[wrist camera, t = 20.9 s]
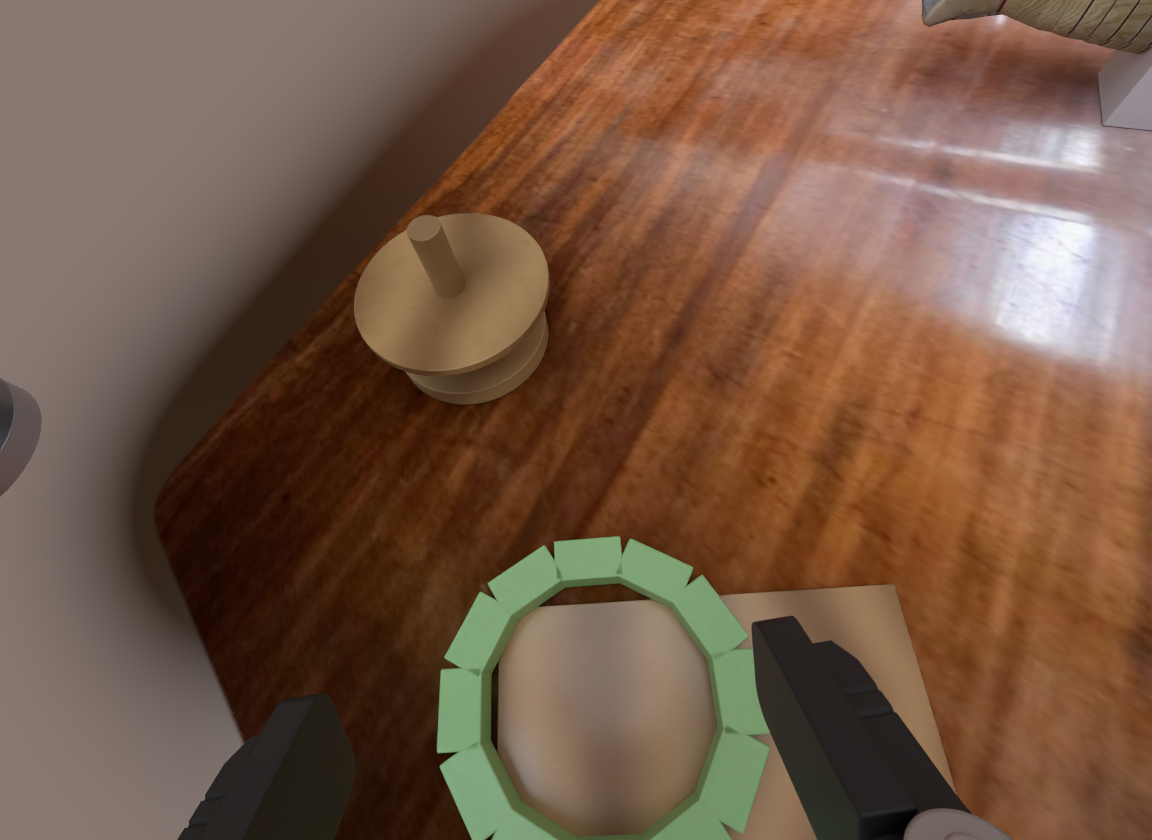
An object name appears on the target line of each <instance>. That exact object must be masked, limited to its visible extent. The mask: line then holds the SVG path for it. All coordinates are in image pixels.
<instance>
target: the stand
mask: <svg viewBox="0 0 1152 840" xmlns="http://www.w3.org/2000/svg"><path fill="white" fill-rule="evenodd" d="M549 292H550V277H549V270H548V265H547V262H546V259H545V256H544V254H543V252H542V250H541V248H540V246H539V245H538V244H537V242H536V241H535V239H534V238H533V237H532V236H531V235H530V234H529V233H527V232H526V231H525V230H523V229H522V228H521V227H519V226H518V225H516V224H514V223H512V222H510V221H507V220H505V219H502V218H499V217H495V216H491V215H486V214H478V213H462V214H452V215H446V216H441V217H437V218H436V217H435V216H431V215H423V216H420V217H417V218H415V219H414V220H412V221H411V222H410V224H409V225H408V227H407V230H406V231H404V232H402V233H400V234H399V235H397V236H396V237H395V238H393V239H392V240H391V241H389V242H388V243H387V244H386V245H385V246H384V247H382V248H381V249H380V250H379V252H378V253H377V254H376V255H375V256H374V257H373V258H372V260H371V261H370V262H369V264H368V265H367V267H366V268H365V270H364V272H363V274H362V275H361V278H360V280H359V283H358V285H357V289H356V293H355V299H354V314H355V320H356V324H357V327H358V329H359V332H360V334H361V336H362V337H363V339H364V340H365V342H366V343H367V345H368V346H369V347H370V348H371V350H372V351H373V352H374V353H375V354H376V355H377V356H378V357H380V358H381V359H382V360H384V361H385V362H386V363H388V364H390V365H392V366H394V367H395V368H397V369H400V370H403V371H405V372H406V373H407V375H408V376H409V377H410V379H411V380H412V382H413V383H414V384H415V385H416V386H417V387H418V388H419V389H420V390H421V391H423V392H424V393H425V394H427V395H429V396H431V397H433V398H435V399H437V400H440V401H443V402H447V403H452V404H462V405H464V404H477V403H483V402H487V401H491V400H494V399H497V398H499V397H502V396H504V395H506V394H507V393H509V392H511V391H513V390H514V389H516V388H517V387H519V386H520V385H521V384H522V383H523V382H525V381H526V380H527V379H528V378H529V377H530V376H531V375H532V373H533V372H534V371H535V370H536V368H537V367H538V365H539V364H540V362H541V360H542V358H543V356H544V353H545V350H546V347H547V342H548V323H547V319H546V315H545V311H544V310H545V307H546V305H547V302H548V297H549Z"/></svg>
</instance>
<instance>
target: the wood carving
mask: <svg viewBox="0 0 1152 840" xmlns="http://www.w3.org/2000/svg"><path fill="white" fill-rule="evenodd" d="M1001 14H1002V15H1006V16H1008V17H1010V18H1012V19H1014V20H1017V21H1019V22H1022V23H1024V24H1026V25H1028V26H1031V27H1033V28H1035V29H1038V30H1043V31H1048V32H1052V33H1055V34H1057V35H1060V36H1063V37H1066V38H1071V39H1079V40H1083V41H1085V42H1087V43H1092V44H1096V45H1100V46H1102V47H1107V48H1112V49H1116V51H1115V52H1114V53H1113V55H1112V56H1111V57H1110V59H1109V60H1108V61H1107V63H1106V64H1105V65H1104V67H1103V68H1102V69H1101V71H1100V72H1099V73H1098V81H1099V92H1100V102H1101V113H1102V123H1103V125H1105V126H1114V127H1124V128H1133V129H1143V130H1152V0H922V19H923V23H924V25H926V26H928V27H930V26H933V25H936V24H939V23H943V22H946V21H949V20H956V19H972V18H978V17H984V16H992V15H1001Z"/></svg>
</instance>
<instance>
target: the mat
mask: <svg viewBox="0 0 1152 840" xmlns="http://www.w3.org/2000/svg"><path fill="white" fill-rule="evenodd" d="M719 597H720V598H721V599H722V601H723V602H724V603H725V605H726V606H727V607H728V609H729V610H730V611H731V612H732V614H733V615H734V616H735V618H736V619H737V620H738V622H739V623H740V624H741V626H742V627H743V628H744V630H745V631H746V632H747V633H748V635H749V638H748V639H746V640H745V641H744V642H743V643H741V644H740V645H739V646H737V647H736V648H735V649H745V648H753V644H752V631H751V626H752V623H753V622H756V621H762V620H768V619H774V618H779V617H785V616H791V615H792V616H794V617H795V618H796V619H797V620H798V621H799V623H800V624H801V626H802V628H803V629H804V631H805V632H806V634H807V635H808V637H809V638H810V640H811V642H812V643H818V642H824V641H830V640H832V641H833V642H834V643H836V644H837V645H839V646H840V647H841V648H843V649H844V650H846V651H847V652H848V653H850V654H851V655H853V656H854V657H855V658H857V659H858V660H859V661H860V663H861V664H862V665H863V667H864V668H865V670H866V671H867V672H868V674H869V675H870V676H871V678H872V679H873V681H874V682H875V683H876V685H877V688H878V690H881V692H882V693H883V694H884V696H885V697H886V698H887V700H888V701H889V703H890V704H891V705H892V707H893V711H894V712H895V713H896V712H897V714H898V715H899V716H900V718H901V719H902V721H903V722H904V723H905V725H906V726H907V727H908V729H909V730H910V732H911V733H912V734H913V736H914V737H915V738H916V740H917V741H918V743H919V744H920V745H921V747H922V748H923V750H924V751H925V752H926V754H927V755H928V756H929V758H930V759H931V761H932V762H933V763H934V765H935V766H936V767H937V769H938V770H939V772H940V773H941V774H942V776H943V777H944V778H945V780H946V781H947V783H948V784H949V785H950V787H951V788H952V790H953V791H954V792H955V794H956V795H957V793H956V790H955V786H954V783H953V780H952V776H951V773H950V769H949V766H948V763H947V759H946V756H945V753H944V749H943V746H942V743H941V739H940V736H939V733H938V729H937V726H936V722H935V719H934V716H933V712H932V709H931V706H930V702H929V699H928V696H927V692H926V689H925V686H924V682H923V679H922V676H921V672H920V669H919V665H918V662H917V659H916V655H915V652H914V649H913V645H912V642H911V639H910V635H909V632H908V629H907V625H906V622H905V619H904V615H903V612H902V608H901V605H900V602H899V598H898V595H897V592H896V588H895V585H894V584H885V585H869V586H853V587H838V588H822V589H806V590H791V591H775V592H759V593H743V594H728V595H719ZM716 728H717V723H716V716H715V710H714V703H713V696H712V690H711V683H710V677H709V670H708V663H707V659H706V657H705V656H704V655H703V653H702V652H701V650H700V649H699V648H698V646H697V645H696V643H695V642H694V641H693V639H692V638H691V636H690V635H689V634H688V632H687V631H686V629H685V628H684V626H683V625H682V624H681V622H680V621H679V619H678V618H677V617H676V615H675V614H674V612H673V611H672V610H671V608H669V607H667V606H665V605H663V604H661V603H659V602H657V601H655V600H653V599H649V600H633V601H618V602H602V603H586V604H571V605H555V606H539V607H537V608H535V609H534V610H532V611H531V612H529V613H528V614H527V615H525V616H524V617H522V618H521V619H519V621H518V623H517V625H516V627H515V629H514V631H513V633H512V635H511V637H510V639H509V641H508V643H507V645H506V647H505V649H504V651H503V653H502V655H501V657H500V659H499V665H498V734H497V753H498V755H499V757H500V759H501V761H502V763H503V765H504V767H505V769H506V771H507V773H508V775H509V777H510V779H511V781H512V783H513V785H514V787H515V789H516V791H517V793H518V796H519V798H520V800H521V801H522V802H524V803H525V804H527V805H528V806H530V807H531V808H533V809H535V810H536V811H538V812H539V813H541V814H542V815H544V816H545V817H547V818H548V819H550V820H552V821H553V822H555V823H556V824H558V825H559V826H561V827H562V828H564V829H565V830H567V831H569V832H570V833H572V834H573V835H575V836H576V837H587V836H608V835H629V834H643V833H644V832H645V831H646V830H648V829H649V828H650V827H651V826H653V825H654V824H655V823H656V822H657V821H659V820H660V819H661V818H662V817H664V816H665V815H666V814H667V813H669V812H670V811H671V810H672V809H674V808H675V807H676V806H677V805H678V804H680V803H681V802H682V801H683V800H685V799H686V798H687V797H688V796H690V795H691V794H692V793H693V792H694V791H695V788H696V785H697V782H698V779H699V777H700V774H701V771H702V768H703V765H704V762H705V759H706V756H707V754H708V751H709V748H710V745H711V742H712V739H713V736H714V734H715V731H716ZM749 736H751V737H753V738H755V739H757V740H758V741H760V742H762V743H764V744H766V745H768V746H769V747H770V751H769V754H768V757H767V760H766V764H765V767H764V770H763V773H762V776H761V780H760V783H759V786H758V789H757V793H756V796H755V799H754V802H753V805H752V809H751V812H750V815H749V818H748V822H747V825H746V828H745V831H744V834H741V833H739V832H738V831H736V830H734V829H733V828H731V827H729V826H728V825H726V824H724V823H723V822H721V823H722V824H723V826H724V828H725V829H726V831H727V832H728V834H729V835H730V837H731V839H732V840H817V838H816V836H815V833H814V831H813V829H812V827H811V824H810V822H809V820H808V818H807V815H806V813H805V811H804V809H803V806H802V804H801V802H800V799H799V797H798V795H797V793H796V790H795V788H794V786H793V784H792V781H791V779H790V777H789V774H788V772H787V770H786V768H785V765H784V763H783V761H782V759H781V756H780V754H779V752H778V749H777V747H776V745H775V743H774V740H773V738H772V736H771V734H760V735H749Z"/></svg>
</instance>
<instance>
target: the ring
mask: <svg viewBox="0 0 1152 840" xmlns="http://www.w3.org/2000/svg"><path fill="white" fill-rule="evenodd" d="M692 571H693V567H692V566H690V565H688V564H685V563H683V562H681V561H679V560H677V559H675V558H672V557H670V556H668V555H666V554H664V553H662V552H659V551H657V550H655V549H653V548H651V547H649V546H647V545H644V544H642V543H640V542H638V541H636V540H634V539H629V541H628V543H627V546H626V548H625V550H624V552H623V554H622V548H621V538H620V536H614V537H602V538H590V539H578V540H566V541H555V542H554V559H553V557H552V556H551V554H550V552H549V551H548V549H547V548H546V546H545V545H543V546H542V547H540V548H539V549H537V550H536V551H534V552H533V553H531V554H530V555H528V556H527V557H526V558H524V559H523V560H521V561H520V562H518V563H517V564H515V565H514V566H512V567H511V568H509V569H508V570H506V571H505V572H503V573H502V574H500V575H499V576H497V577H496V578H494V579H493V580H491V581H490V582H488V586H489V587H490V589H491V591H492V593H493V594H494V596H495V598H496V599H494V598H492V597H490V596H488V595H486V594H485V593H483V592H480V593H479V594H478V596H477V598H476V600H475V602H474V604H473V605H472V607H471V609H470V611H469V613H468V615H467V616H466V618H465V620H464V622H463V624H462V626H461V627H460V629H459V631H458V633H457V635H456V637H455V638H454V640H453V642H452V644H451V646H450V648H449V649H448V651H447V653H446V655H445V657H444V658H445V659H446V660H448V661H450V662H452V663H453V664H455V665H457V666H458V667H460V668H451V669H442V670H441V675H440V695H439V716H438V737H437V753H450V752H457V753H456V754H454V755H453V756H452V757H450V758H449V759H448V760H446V761H445V762H443V763H442V764H441V765H440V769H441V771H442V774H443V776H444V778H445V780H446V783H447V785H448V787H449V789H450V792H451V794H452V796H453V798H454V801H455V803H456V805H457V807H458V810H459V812H460V814H461V816H462V818H463V821H464V823H465V825H466V827H467V830H468V832H469V834H470V836H471V839H472V840H485V839H487V838H488V837H489V836H491V835H492V834H493V833H494V835H493V838H492V840H732V839H731V837H730V835H729V834H728V832H727V831H726V829H725V828H724V826H723V824H722V823H721V822H723V823H724V824H726V825H728V826H729V827H731V828H733V829H734V830H736V831H738V832H739V833H741V834H744V831H745V828H746V825H747V822H748V818H749V815H750V812H751V809H752V805H753V802H754V799H755V796H756V793H757V789H758V786H759V783H760V780H761V776H762V773H763V770H764V767H765V764H766V760H767V757H768V754H769V751H770V747H769V746H768V745H766V744H764V743H762V742H760V741H758V740H757V739H755V738H753V737H751V736H749V735H760V734H770V731H769V729H768V727H767V724H766V722H765V719H764V717H763V714H762V711H761V707H760V704H759V700H758V695H757V690H756V682H755V670H754V657H753V648H745V649H735V648H736V647H737V646H739V645H740V644H741V643H743V642H744V641H745V640H746V639H748V638H749V635H748V633H747V632H746V631H745V630H744V628H743V627H742V626H741V624H740V623H739V622H738V620H737V619H736V618H735V616H734V615H733V614H732V612H731V611H730V610H729V609H728V607H727V606H726V605H725V603H724V602H723V601H722V599H721V598H720V597H719V595H718V594H717V593H716V591H715V590H714V589H713V588H712V586H711V585H710V584H709V582H708V581H707V580H706V578H705V577H704V576H703V575H700V576H699V577H698V578H696V579H695V580H694V581H692V582H691V583H689V584H688V585H687V583H688V581H689V578H690V576H691V573H692ZM617 583H620V584H622V585H624V586H626V587H628V588H630V589H632V590H634V591H636V592H638V593H640V594H642V595H644V596H647V597H649V598H651V599H653V600H655V601H657V602H659V603H661V604H663V605H665V606H667V607H669V608H671V610H672V611H673V612H674V614H675V615H676V617H677V618H678V619H679V621H680V622H681V624H682V625H683V626H684V628H685V629H686V631H687V632H688V634H689V635H690V636H691V638H692V639H693V641H694V642H695V643H696V645H697V646H698V648H699V649H700V650H701V652H702V653H703V655H704V656H705V657H706V659H707V663H708V670H709V677H710V683H711V690H712V696H713V703H714V710H715V716H716V723H717V728H716V731H715V734H714V736H713V739H712V742H711V745H710V748H709V751H708V754H707V756H706V759H705V762H704V765H703V768H702V771H701V774H700V777H699V779H698V782H697V785H696V788H695V791H694V792H693V793H692V794H691V795H690V796H688V797H687V798H686V799H685V800H683V801H682V802H681V803H680V804H678V805H677V806H676V807H675V808H674V809H672V810H671V811H670V812H669V813H667V814H666V815H665V816H664V817H662V818H661V819H660V820H659V821H657V822H656V823H655V824H654V825H653V826H651V827H650V828H649V829H648V830H646V831H645V832H644V833H643V834H629V835H608V836H587V837H576V836H575V835H573V834H572V833H570V832H569V831H567V830H565V829H564V828H562V827H561V826H559V825H558V824H556V823H555V822H553V821H552V820H550V819H548V818H547V817H545V816H544V815H542V814H541V813H539V812H538V811H536V810H535V809H533V808H531V807H530V806H528V805H527V804H525V803H524V802H522V801H521V800H520V798H519V796H518V793H517V791H516V789H515V787H514V785H513V783H512V781H511V779H510V777H509V775H508V773H507V771H506V769H505V767H504V765H503V763H502V761H501V759H500V757H499V755H498V753H497V751H496V749H495V747H494V745H493V743H492V741H491V687H492V672H493V670H494V668H495V666H496V664H497V662H498V660H499V659H500V657H501V655H502V653H503V651H504V649H505V647H506V645H507V643H508V641H509V639H510V637H511V635H512V633H513V631H514V629H515V627H516V625H517V623H518V621H519V619H521V618H522V617H524V616H525V615H527V614H528V613H529V612H531V611H532V610H534V609H535V608H537V607H538V606H540V605H541V604H542V603H544V602H545V601H547V600H548V599H550V598H551V597H552V596H554V595H555V594H557V593H558V592H560V591H561V590H563V589H564V588H565V587H578V586H591V585H604V584H617Z"/></svg>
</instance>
